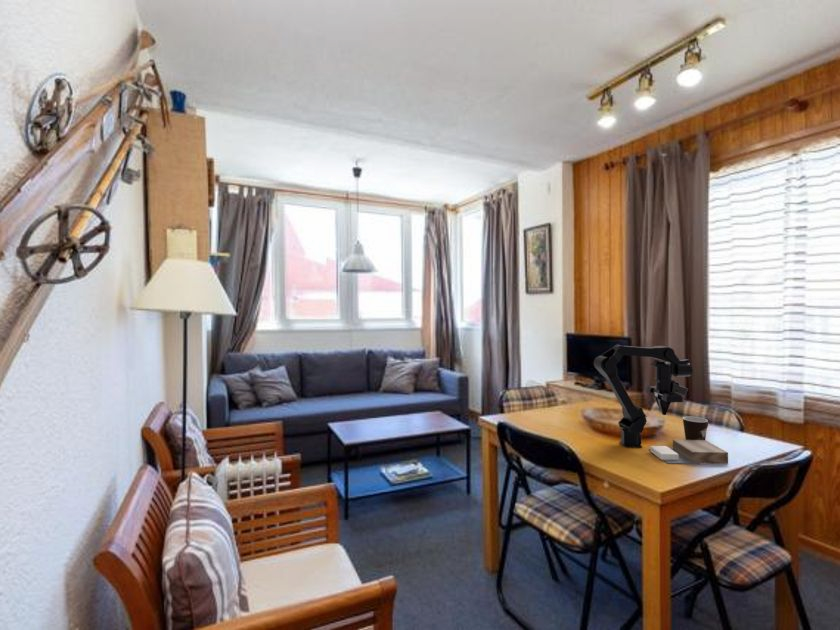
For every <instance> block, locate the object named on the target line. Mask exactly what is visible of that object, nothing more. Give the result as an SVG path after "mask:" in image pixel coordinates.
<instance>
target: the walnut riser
mask: <svg viewBox="0 0 840 630" xmlns="http://www.w3.org/2000/svg"><path fill="white" fill-rule="evenodd" d="M672 449H674V450H675V451H677V452H678V453H680V454H681V455H683V456H684V457H686V458H687V459H689V460H690V461H692V462H699V463H700V464H721V465H723V464H726V465H728V464H729V452H728V451H727V450H724V449H723V448H720V447H718V446H717V445H715V444H713V443H711V442H709V441H708V440H706V439H705V440H686V439H672Z"/></svg>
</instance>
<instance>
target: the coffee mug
mask: <svg viewBox="0 0 840 630" xmlns="http://www.w3.org/2000/svg"><path fill="white" fill-rule="evenodd" d="M682 423H683V424H682V425H683V430H684V432H683V433H684V438H685V439H684V440H706V439H707V438H706V437H707V431H708V430H707V429H708V428H709V427H708V426H709V421H708V419H706V418H703V417H699V416H683V417H682Z"/></svg>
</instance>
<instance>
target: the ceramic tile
mask: <svg viewBox="0 0 840 630" xmlns="http://www.w3.org/2000/svg"><path fill="white" fill-rule="evenodd" d="M649 449H650V450H649V451H650V452H651V453H653V454H654V455H655V456H656V457H657V458H659V459H660V460H662V461H664V460H679V454H677V453H676V452H674V451H673V450H671V449H672V448H670V447H668V446H666V445H650V446H649Z"/></svg>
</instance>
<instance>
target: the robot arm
mask: <svg viewBox="0 0 840 630" xmlns="http://www.w3.org/2000/svg"><path fill="white" fill-rule="evenodd" d="M624 356H632V357H633V356H634V357H647V358H653V359H654V361H652V362H651V363H650V366H653V367H655V378H653V382H655V385H653V386H652V385H649V386H647V387H646V393H647V394H649V395H650V394H652V393H654V395H653V396H652V397H653V399H654V401H655V403H656V405H657V407H658V409H659V411H660V413H661V415H663V416H666V415H667V413H668V410H669V408H670V405H671V403H684V396H687V392H688V390H689V388H687V387H685V386H682V385H680V382H678V381H675V379H673V377H677V378H678V377H691V376H692V375H693V371H694V369H693V367H692V365H691V364H690V360H689V359H679V357H678V356H677V354H676V353H675V350H674V349H673V347H670V346H665V345H654V346H649V347H644V346H643V347H642V346H631V345H622V344H621V345H620V344H615V345H614V346H612V347H611V348H610V349H608V350H607V351H605V352H603V353H602V354H601V355H598V356H596V357H595V358H594V361H593V366H594V368H595V369H596V370H597V371H598V372H599V374H600V375H602V377H604V378H605V380H606V382H607V383H608V385H609V387H610V389H611V390H612V392H613V393H614V395H615V397H616V399H617V401H618V402H619V405H620V406H621V411H622V416H623V417H622V418H620V420H619V421H618V426H619V428H621V429H620V433H621V435H620V436H621V437H620V439H621V440H620V441H619V443H620V444H621V445H622V446H623V447H624V448H643V446H642V433H643V430H644V428H645V426H646V424H647V422H648V421H647V418H646V417H647V415H646V413H645V412H644V410H643V407H640V406H638V405H635V404H634V403H633V401H632V399H631V397H630V396H629V395H630V394H628V392H627V390H626V388H625V387H624V384H623V383H622V381H621V380H620V377H619V375H618V367H617V365H618V364H619V363H620V361H621V360H622V358H623V357H624ZM659 360H660V361H659Z"/></svg>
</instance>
